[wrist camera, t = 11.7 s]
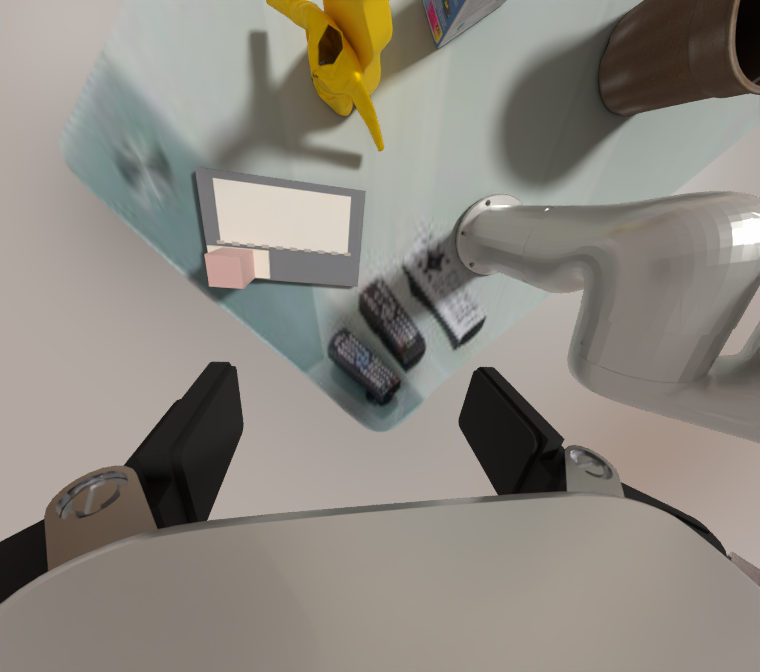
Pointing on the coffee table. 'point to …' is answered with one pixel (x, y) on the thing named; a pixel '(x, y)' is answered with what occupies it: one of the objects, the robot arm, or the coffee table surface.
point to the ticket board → (285, 224)
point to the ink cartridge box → (455, 16)
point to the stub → (235, 266)
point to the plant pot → (681, 54)
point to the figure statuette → (344, 51)
